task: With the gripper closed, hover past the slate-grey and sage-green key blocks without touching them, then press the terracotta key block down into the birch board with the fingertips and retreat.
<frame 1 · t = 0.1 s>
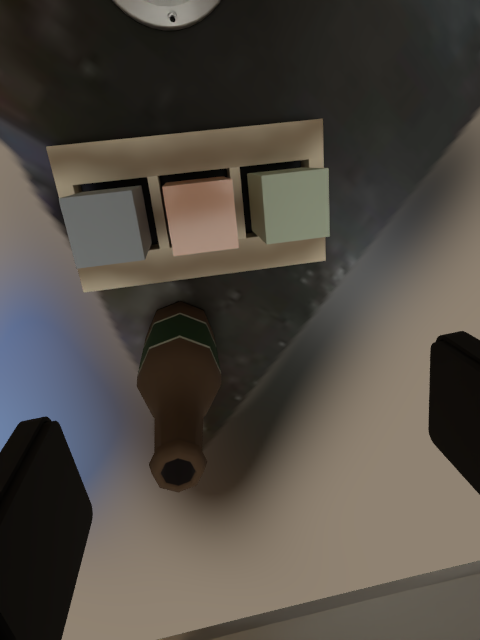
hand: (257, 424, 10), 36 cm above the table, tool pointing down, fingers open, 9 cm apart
slate key: (111, 223, 36), point 7 cm above the table, slide at 0.0 cm
sage key: (285, 203, 37), point 7 cm above the table, slide at 0.0 cm
birch board: (197, 205, 43), on the table
beer bottle: (180, 329, 48), on the table
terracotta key: (200, 213, 37), point 7 cm above the table, slide at 0.0 cm
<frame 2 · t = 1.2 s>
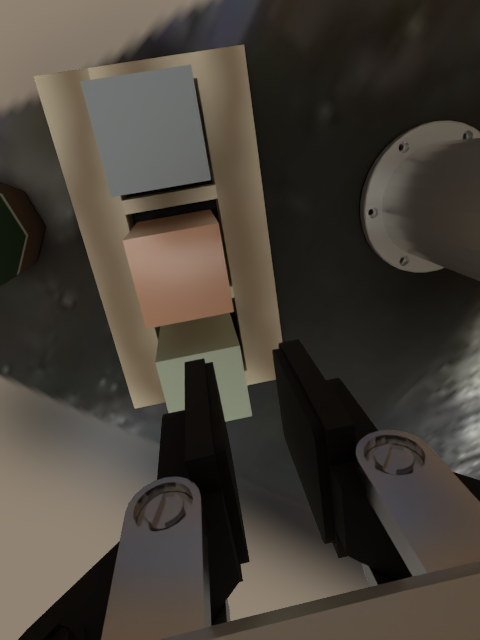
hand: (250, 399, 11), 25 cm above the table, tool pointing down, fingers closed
slate key: (154, 138, 25), point 7 cm above the table, slide at 0.0 cm
sage key: (203, 363, 31), point 7 cm above the table, slide at 0.0 cm
birch board: (181, 245, 34), on the table
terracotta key: (181, 263, 28), point 7 cm above the table, slide at 0.0 cm
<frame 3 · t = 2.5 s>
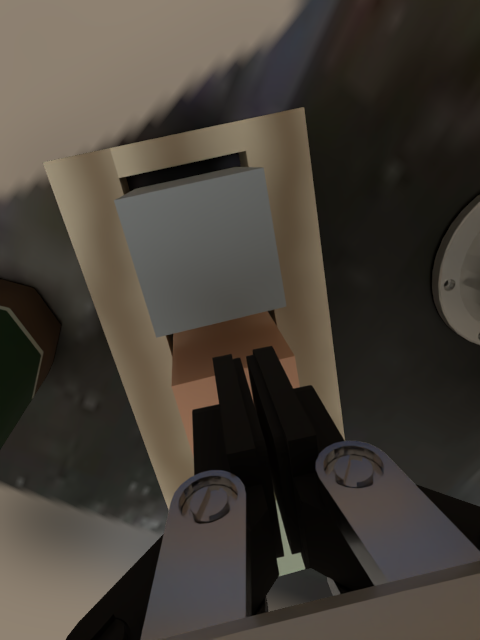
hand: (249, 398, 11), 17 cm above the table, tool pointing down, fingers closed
slate key: (201, 240, 19), point 7 cm above the table, slide at 0.0 cm
sage key: (260, 486, 25), point 7 cm above the table, slide at 0.0 cm
birch board: (222, 333, 29), on the table
beer bottle: (4, 327, 27), on the table
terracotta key: (234, 380, 22), point 7 cm above the table, slide at 0.0 cm
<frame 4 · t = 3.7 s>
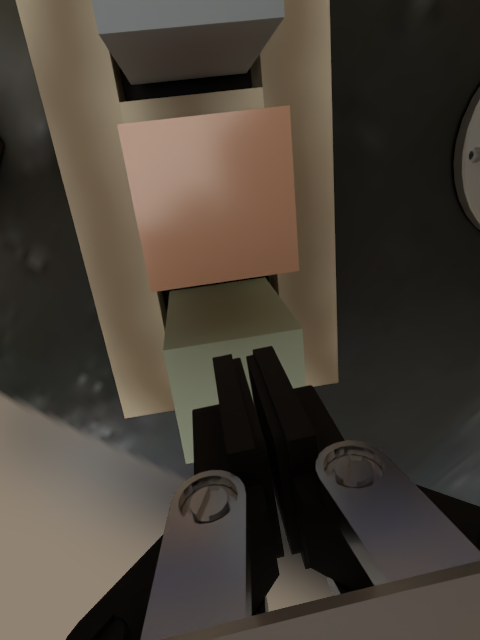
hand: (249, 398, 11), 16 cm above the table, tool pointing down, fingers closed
sage key: (231, 357, 21), point 7 cm above the table, slide at 0.0 cm
birch board: (202, 188, 24), on the table
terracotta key: (209, 196, 18), point 7 cm above the table, slide at 0.0 cm
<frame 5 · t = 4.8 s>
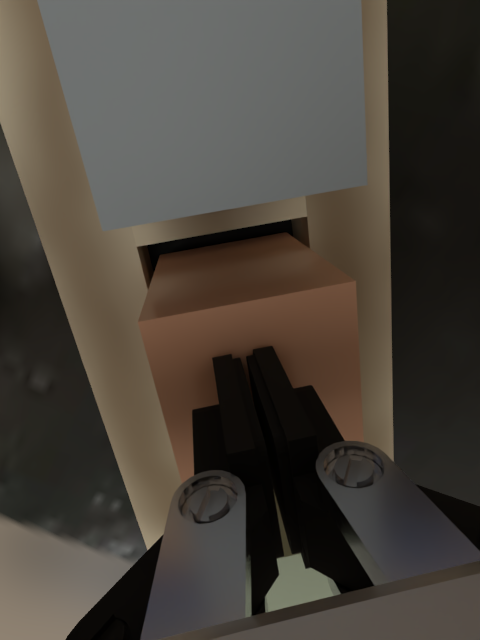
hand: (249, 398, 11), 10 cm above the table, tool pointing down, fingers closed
slate key: (205, 89, 11), point 7 cm above the table, slide at 0.0 cm
sage key: (276, 516, 17), point 7 cm above the table, slide at 0.0 cm
birch board: (230, 291, 20), on the table
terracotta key: (244, 337, 15), point 6 cm above the table, slide at 0.9 cm, touching gripper
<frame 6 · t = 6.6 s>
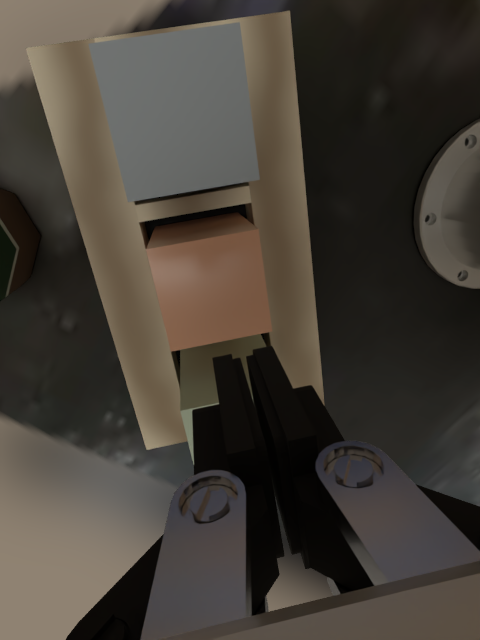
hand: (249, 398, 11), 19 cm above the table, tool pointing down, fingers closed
slate key: (180, 126, 19), point 7 cm above the table, slide at 0.0 cm
sage key: (233, 402, 25), point 7 cm above the table, slide at 0.0 cm
birch board: (203, 257, 29), on the table
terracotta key: (207, 273, 24), point 5 cm above the table, slide at 2.1 cm
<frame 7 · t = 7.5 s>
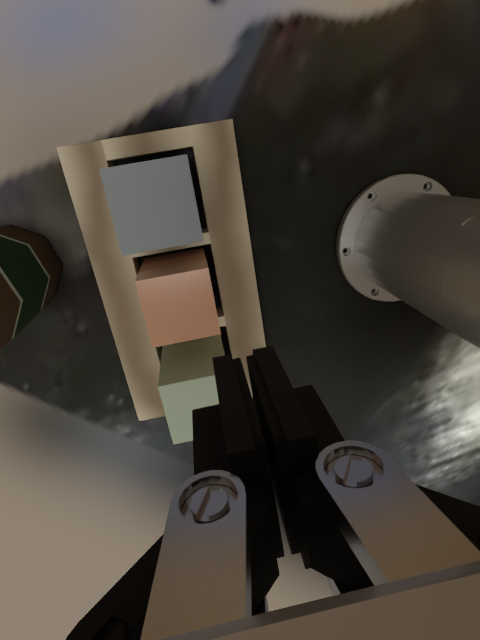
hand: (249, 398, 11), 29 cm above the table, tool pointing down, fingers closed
slate key: (157, 201, 30), point 7 cm above the table, slide at 0.0 cm
sage key: (198, 384, 36), point 7 cm above the table, slide at 0.0 cm
birch board: (180, 279, 39), on the table
beer bottle: (21, 265, 37), on the table
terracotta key: (180, 293, 35), point 5 cm above the table, slide at 2.1 cm
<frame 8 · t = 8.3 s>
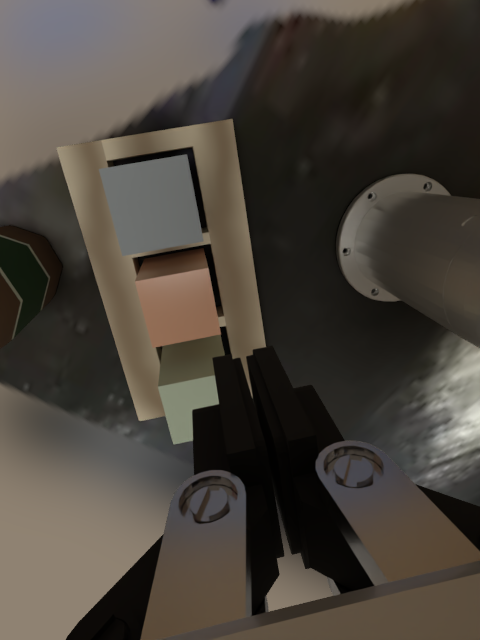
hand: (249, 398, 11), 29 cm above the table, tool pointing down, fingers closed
slate key: (157, 201, 30), point 7 cm above the table, slide at 0.0 cm
sage key: (198, 384, 36), point 7 cm above the table, slide at 0.0 cm
birch board: (180, 279, 39), on the table
beer bottle: (21, 265, 37), on the table
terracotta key: (180, 293, 35), point 5 cm above the table, slide at 2.1 cm
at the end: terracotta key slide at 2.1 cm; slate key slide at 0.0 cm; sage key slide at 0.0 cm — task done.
